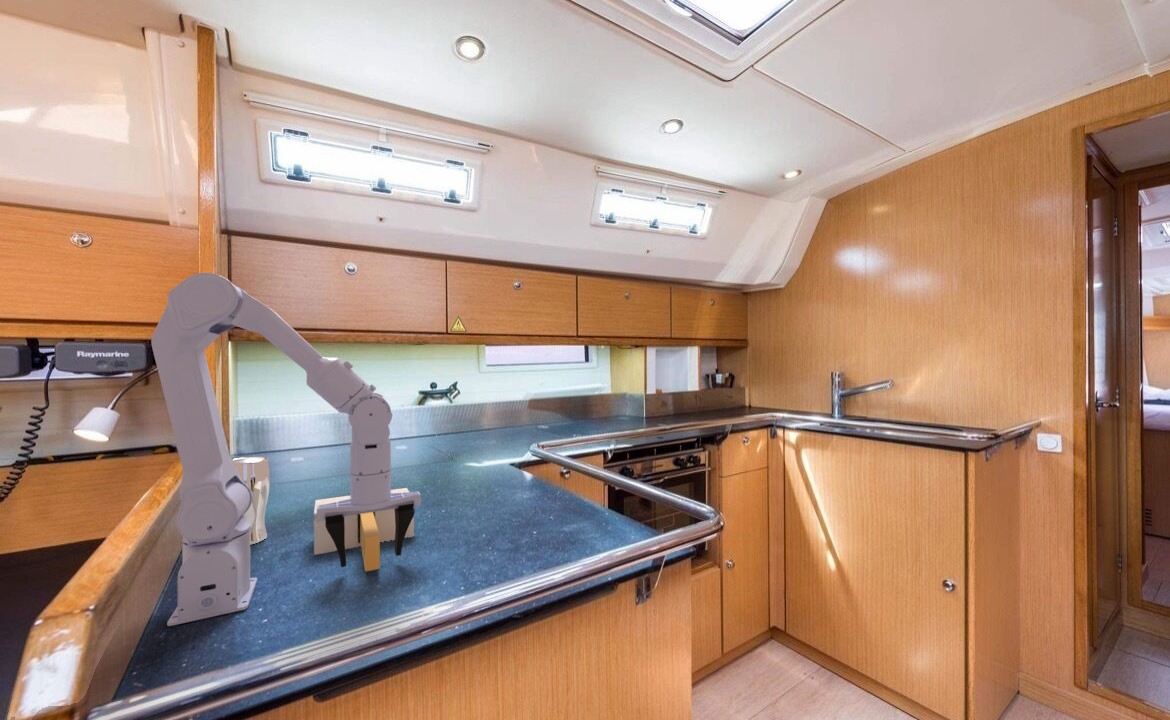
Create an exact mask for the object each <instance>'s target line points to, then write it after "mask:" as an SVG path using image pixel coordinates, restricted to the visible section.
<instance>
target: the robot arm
mask: <svg viewBox="0 0 1170 720" xmlns="http://www.w3.org/2000/svg"><path fill="white" fill-rule="evenodd" d="M235 327H239V328H241V329H244V330H247V331H249V332H254V333H257V334H259V335H261V336H262V337H263V338H264V339H266V340H267V341H268V342H270V343H271V344H272V345H273V346H274V347H276V348H277V349H278V350H279V351H280V352H282V353H283V354H284V355H285V356H287V357H288V358H289V359H290V360H292V362H294V363H295V364H297V365H298V366H299V367H301V368H302V369H303V370H304V371H305V372H306V385H307V386H308V387H309V388H310V389H311V390H313V392H314V393H316V394H317V395H318V396H320V397H321V398H322V399H323V400H324V401H325V402H326V403H328V404H329V405H330V406H331V407H332V408H333V409H335V410H336V411H337V412H338V413H340V414H346V415H348V421H349V424H350V426H351V427H352V428H351V431H352V432H351V433H352V435H351V438H352V439H351V442H350V444H349V458H350V459H349V461H350V464H349V465H350V466H349V469H350V470H349V474H350V478H349V481H350V482H349V483H350V487H349V488H350V490H349V491H350V492H349V493H350V495H349V496H350V499H347V500H343V501H338V502H334V503H329V504H324V505H318V506H317V522H320V521H325V520H326V522H325V526H326V529H327V531H328V533H329V534H330V536H331V538H332V539H333V541H334V543H335V546H336V548H337V551H336V552H337V554H338V556H339V557H338V558H339V561H340V567H341V568H344V567H347V555H346V554H347V553H346V549H345V524H344V516H350V515H356V514H363V513H369V512H376V511H382V510H389V509H395V540H394V554H395V555H396V557H398V556H402V549H403V544H404V540H405V539H406V538H405V534H406V532H407V529H408V527H409V525H410V522H411V520H412V519H413V516H414V517H415V513H416V512H415V507H420V506H422V505H421V504H422V498H421V497H422V494H421V493H420V491H409V492H407V493H391V490H392V487H391V486H392V481H391V479H392V477H391V473H392V472H391V471H392V467H391V465H392V463H391V461H392V459H391V458H392V457H391V453H392V452H391V449H392V448H391V445H392V444H391V440H390V439H389V438H390V435H391V430H390V427H389V425H390V424H391V421H392V419H393V412H392V409H391V406H390V404H389V403H388V401H387V400H386V399H385V398H384V396H383V395H382V394H380V393H377V392H375V391H376V390H377V387H376V386H375V385H374V384H373V383H372V384H370V385H369V384H368V383H367V382H366V381H364V379H362V377H361V376H360V375H358V374H357V373H355V372H354V371H353V370H352V368H354V365H353V364H352V363H351V362H349V361H348V360H345V361H344V362H343V361H342V359H340V358H339V357H324V356H323V355H322V354H320V353H319V351H318V350H316V349H315V347H313V346H312V345H311V344H310V343H309V342H308V341H307V340H305V339H304V337H302V335H300V334H299V333H298V332H297V331H296V329H294V328H293V327H292V326H291V325H290V324H289V323H288V322H286V320H285V319H283V318H282V317H281V316H280V315H279V314H278V313H277V312H276V311H275V310H273V309H272V308H271V307H269V306H268V305H266V304H265V303H263V302H261V301H260V300H258V299H256V298H255V297H253V296H252V295H250V294H248V293H247V291H245V290H244V289H243V288H241V287H239V286H237V285H234V284H233V283H232V282H231V280H229V279H228V278H226V277H224V276H222V275H220V274H217V273H212V272H199V273H195V274H192V275H190V276H188V277H186V278H185V279H184V280H182V281H181V282H180V283H179V284H177V285H176V286H175V287H173V288H172V289H171V290H170V291H168V293H167V303H166V306H165V308H164V311H163V312H162V315H161V317H160V318H159V322H158V323H157V325H156V327H155V329H154V332H153V334H152V337H151V339H150V340H151V341H150V343H151V347H152V352H153V356H154V360H155V364H156V368H157V371H158V376H159V380H160V386H161V388H162V391H163V396H164V400H165V405H166V408H167V412H168V416H169V421H170V424H171V428H172V433H173V437H174V442H175V444H176V449H177V452H178V457H179V461H180V465H181V469H182V476H181V477H182V478H181V480H180V481H181V482H180V485H179V491H178V494H179V498H180V507H179V511H178V513H177V516H176V527H177V530H178V532H179V533H180V534H181V535H182V540H181V541H182V545H181V546H182V548H181V549H182V551H181V552H182V556H181V557H182V564H181V566H180V568H179V569H178V574H177V607H175V610H174V611H173V613H172V615H171V616H170V617H169V619H168V620H167V624H166V625H167V626H168V627H172V626H177V625H181V624H186V623H190V622H195V621H199V620H204V619H208V618H213V617H216V616H217V617H218V616H222V615H225V614H227V615H228V614H231V613H235V612H240V611H245V610H246V609H248V607H249V605H250V602H251V600H252V596H253V594H254V592H255V588H256V585H257V582H258V578H257V577H251V546H250V524H249V523H248V522H247V521H246V519H245V517H244V515H243V514H245V513H246V512H247V510H248V509H249V508H250V506H251V503H252V499H253V498H252V491H251V489H250V488H249V486H248V485H247V484H246V483H244V482H243V481H242V479H241V478H240V475H239V472H238V468H237V467H236V465H235V464H234V463H233V461H232V458H231V455H230V452H229V448H228V444H227V443H228V442H227V439H226V435H225V431H224V428H223V427H224V426H223V422H222V418H221V415H220V410H219V406H218V402H217V398H216V394H215V390H214V385H213V381H212V378H211V372H210V370H209V369H210V368H209V365H208V360H207V356H206V349H208V348H209V347H210V346H211V345H212V344H213V343H214V342H215V341H216V340H217V338H219V337H221V335H222V334H223V333H224V332H227V331H229V330H231V329H233V328H235Z"/></svg>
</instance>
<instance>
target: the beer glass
mask: <svg viewBox="0 0 1170 720" xmlns="http://www.w3.org/2000/svg"><path fill="white" fill-rule="evenodd" d="M231 460H232V461H233V463H234V464H235V465H236V467H237V468H238V472H239V475H240V478H241V479H242V481H243V482H244V483H246V484H247V485H248V486H249V488H250V489H251V491H252V498H253V499H252V503H251V506H250V508H249V509H248V510H247V512H246V513H245V514H243V515H244V517H245V519H246V521H247V522H248V523H249V524H250V545H252V544H255V543H258V542H260V541H262V540H264V539H266V538H268V534H267V529H266V525H265V523H266V522H265V514H266V508H267V503H268V499H269V494H270V486H271V484H270V483H271V481H270V480H271V479H270V473H271V472H270V464H269V457H268V456H261V455H260V456H259V455H258V456H257V455H256V456H245V457H238V458H231ZM266 540H267V539H266ZM264 541H265V540H264ZM258 544H259V543H258ZM255 545H256V544H255ZM252 546H253V545H252Z"/></svg>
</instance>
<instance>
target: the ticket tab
mask: <svg viewBox="0 0 1170 720" xmlns="http://www.w3.org/2000/svg"><path fill="white" fill-rule="evenodd" d="M360 542H361V546H360V549H361V553H362V554H361V555H362V559H363V560H362V561H363V565H364V571H365V572H371V571H375V570H378V569H380V568H381V554H380V553H381V547H380V546H381V545H380V544H381V543H380V535H379V531H378V528H377V524H376V521H375V517H374V514H373V512H369V513H363V514H360Z"/></svg>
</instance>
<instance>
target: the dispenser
mask: <svg viewBox="0 0 1170 720" xmlns="http://www.w3.org/2000/svg"><path fill="white" fill-rule="evenodd" d="M407 492H410V491H409V489H408V487H405V488H404V487H403V488H396V489H391V493H407ZM347 499H350V495H344V496H342V495H341V496H338V497H337V496H336V497H329V498H322V499H315V503H314V510H313V555H314V556H316V555H322V554H326V553H332V552H338V551H337V548H336V546H335V543H334V541H333V539H332V538H331V536H330V534H329V533H328V531H327V529H326V526H325V522H326V520H325V521H320V522H317V506H318V505H324V504H329V503H334V502H338V501H343V500H347ZM373 514H374V517H375V521H376V524H377V528H378V531H379V535H380V542H382V543H385V542H384V541H387V542H391V541H390V540H392V541H395V509H389V510H382V511H376V512H373ZM344 524H345V550H348V549H354V547H355V548H359V546H360V547H361V542H360V514H356V515H350V516H344ZM413 536H414V537H415V515H414V516H413V519H412V520H411V522H410V525H409V527H408V529H407V532H406V534H405V538H404V539H406V538H407V537H408V538H413Z"/></svg>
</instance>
